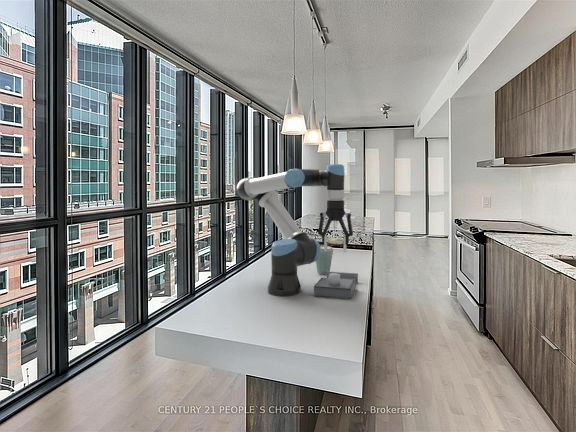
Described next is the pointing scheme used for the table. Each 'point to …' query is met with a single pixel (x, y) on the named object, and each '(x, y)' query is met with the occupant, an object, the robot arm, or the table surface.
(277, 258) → the robot arm
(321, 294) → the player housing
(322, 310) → the table surface
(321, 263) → the disposable coffee cup
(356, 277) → the tray
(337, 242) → the disc
